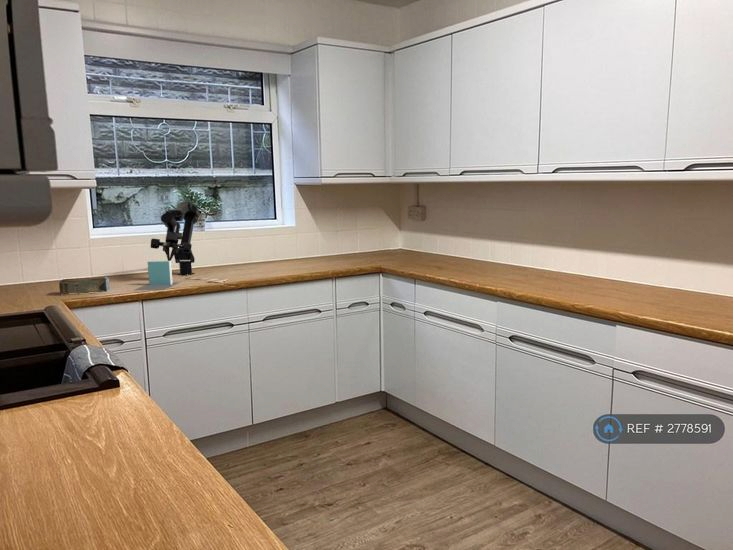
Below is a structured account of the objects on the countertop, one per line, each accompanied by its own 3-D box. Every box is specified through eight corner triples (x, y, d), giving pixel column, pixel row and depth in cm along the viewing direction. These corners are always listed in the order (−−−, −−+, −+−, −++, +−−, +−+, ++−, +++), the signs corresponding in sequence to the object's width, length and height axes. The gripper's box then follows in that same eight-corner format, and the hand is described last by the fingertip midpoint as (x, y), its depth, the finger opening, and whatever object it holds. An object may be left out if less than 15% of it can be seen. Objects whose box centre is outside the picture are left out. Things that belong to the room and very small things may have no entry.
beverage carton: (107, 293, 258) (106, 278, 257) (59, 296, 253) (57, 281, 252) (109, 289, 266) (108, 275, 265) (63, 293, 260) (61, 278, 259)
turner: (182, 281, 285) (182, 278, 285) (191, 278, 292) (191, 276, 291) (219, 282, 277) (219, 280, 277) (228, 280, 284) (227, 278, 284)
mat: (151, 283, 280) (151, 282, 280) (180, 283, 279) (180, 282, 279) (133, 291, 260) (133, 290, 260) (164, 290, 259) (164, 289, 259)
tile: (151, 284, 275) (149, 260, 273) (172, 284, 275) (170, 260, 273) (149, 285, 272) (147, 261, 271) (170, 284, 272) (168, 261, 270)
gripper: (153, 222, 278) (148, 252, 272) (194, 228, 284) (190, 257, 278) (152, 232, 288) (148, 261, 282) (192, 238, 294) (188, 266, 287)
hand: (169, 261), depth 282 cm, fingers closed
